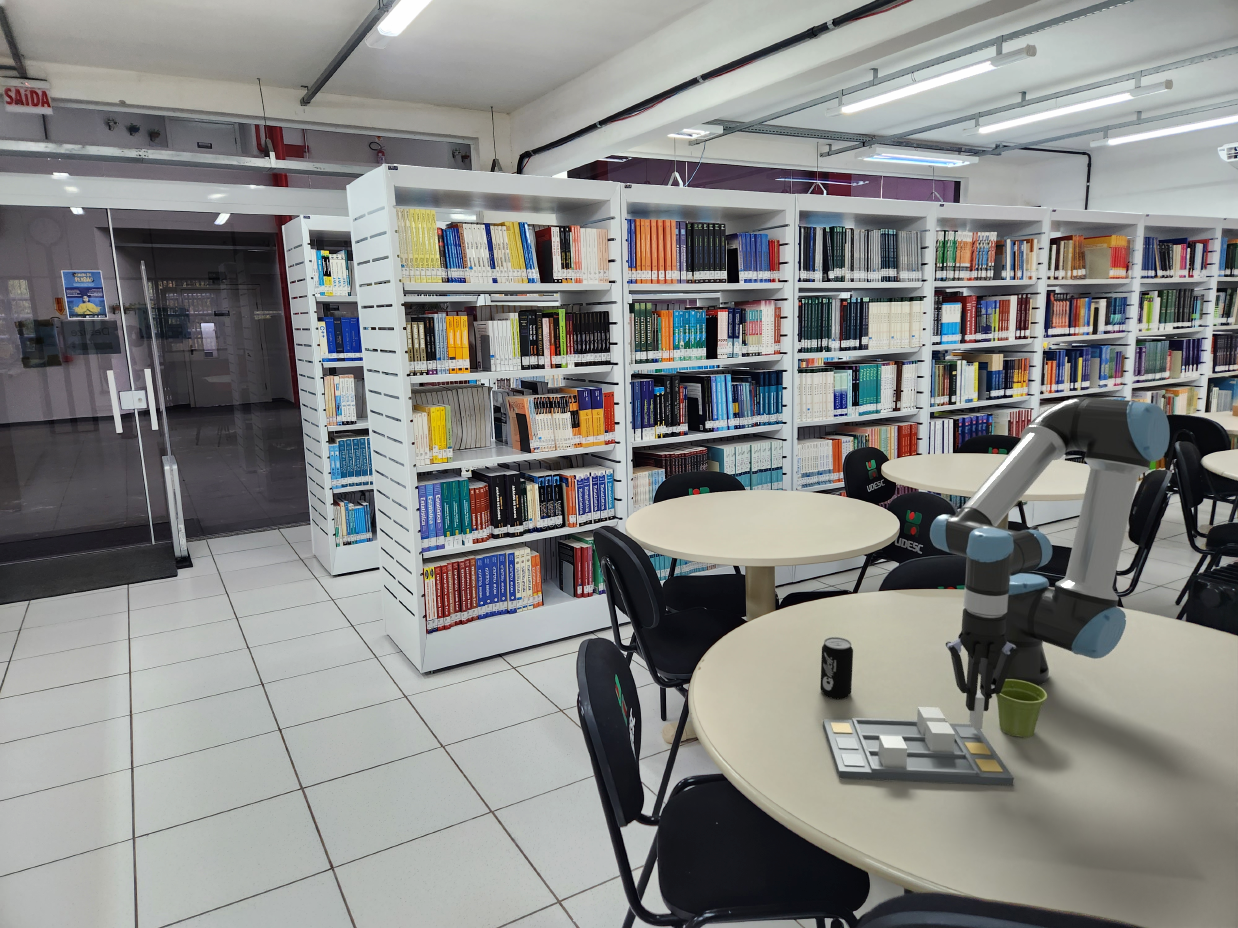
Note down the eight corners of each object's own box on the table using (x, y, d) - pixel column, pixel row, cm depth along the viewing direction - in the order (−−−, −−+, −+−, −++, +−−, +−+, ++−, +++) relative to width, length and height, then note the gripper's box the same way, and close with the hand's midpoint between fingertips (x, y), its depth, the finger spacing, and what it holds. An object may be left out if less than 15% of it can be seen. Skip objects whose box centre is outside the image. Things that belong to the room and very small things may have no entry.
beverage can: (852, 701, 165) (854, 649, 162) (821, 699, 166) (822, 647, 164) (849, 687, 171) (852, 637, 169) (819, 685, 172) (821, 635, 170)
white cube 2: (946, 741, 146) (948, 722, 145) (953, 753, 142) (955, 733, 141) (925, 740, 146) (926, 721, 146) (931, 752, 142) (932, 732, 142)
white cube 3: (900, 755, 142) (901, 736, 141) (906, 768, 138) (907, 748, 137) (878, 754, 142) (879, 735, 141) (883, 767, 138) (884, 747, 137)
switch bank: (976, 731, 152) (977, 721, 152) (1013, 785, 135) (1014, 774, 134) (822, 725, 155) (823, 716, 155) (839, 778, 138) (839, 767, 137)
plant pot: (1022, 747, 146) (1026, 706, 145) (979, 725, 155) (983, 685, 153) (1053, 735, 151) (1057, 694, 149) (1010, 713, 159) (1013, 675, 157)
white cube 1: (937, 726, 151) (938, 707, 151) (943, 736, 148) (945, 717, 147) (916, 725, 152) (917, 706, 151) (922, 736, 148) (923, 717, 147)
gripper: (1012, 603, 147) (1003, 716, 152) (942, 602, 148) (934, 713, 153) (1029, 618, 140) (1018, 736, 144) (955, 617, 141) (947, 734, 146)
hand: (975, 724), depth 149 cm, fingers closed
